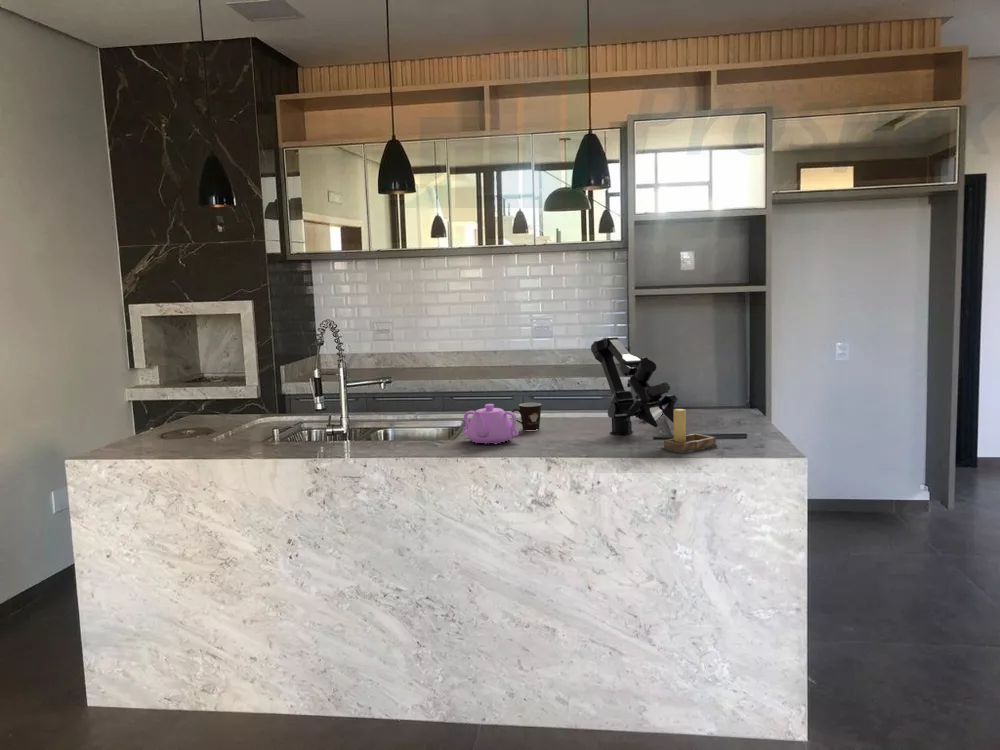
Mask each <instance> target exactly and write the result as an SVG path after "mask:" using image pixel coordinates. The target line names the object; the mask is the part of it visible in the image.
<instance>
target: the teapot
mask: <svg viewBox="0 0 1000 750" xmlns="http://www.w3.org/2000/svg"><path fill="white" fill-rule="evenodd" d="M469 414H471V415H472V416H471V418H470V420H469V417H468V416H469ZM463 415H464V416H463V420H464V424H465V426H464V427H463V428H462V433H463V434H464V435H466V436H467V438H468V439H469V440H470V441H471V442H472V443H474V442H475V443H474V444H477V443H485V444H484V445H490V444H489V443H499V444H502V443H501V442H503V443H506V442H505V441H507V442H509V441H510V439H511V438H512V437H517V436H518V435H519V434H520V433H519V432H520V431H519V430H518V428H515V427H516V424H517V421H516V420H517V415H516V414H515V413H514V412H513V413H512V411H508V410H507V411H505V410H504V409H503V408H499V407H495V404H494V403H486V404H484V407H483V408H479V409H476V410H468V411H466V412H465V413H464V414H463ZM509 416H511V418H512V420H511V419H510V417H509ZM508 440H509V441H508ZM487 443H488V444H487Z"/></svg>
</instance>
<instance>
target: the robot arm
mask: <svg viewBox="0 0 1000 750" xmlns="http://www.w3.org/2000/svg"><path fill="white" fill-rule="evenodd" d="M590 351H591V353H592V354H593V356H594V358H595V360H596V361H598V363H600V364H601V366H602V370H603V372H604V376H605V378H606V381H607V384H608V388H609V390H610V392H611V398H610V405H609V408H608V409H607V417H608V418H611V431H609V434H612V435H621V436H626V435H628V434H632V433H633V432H634V431H633V430H632V429H633V428H632V427H633V425H632V420H631V418H638V419H639V420H641V421H642V420H643V421H642V422H645V423H647V424H649V425H650V426H652V427H654V428H657V427H658V426H659V425H658V423H657V420H656V421H655V419H654V417H653V416H652V414H651V412H650V408H654V407H658V408H659V409H660V410H662V413H663V415H664V416H665V417H667V419H668V420H669V421H671V422H672V423H673V424H674V410H675V407H674V406H675V405H676V403H677V401H678V398H677V395H675V394H668V393H669V392H670V389H671V386H670V384H669V383H668V382H667V381H662V382H661V383H660V384H655V385H651V384H650V383H649V381H650V380H651V378H652V377H653V375H654V374H655V371H656V370H657V364H656V363H655V362H654V361H652V360H651V359H649V358H648V357H646V356H644V357H641V358H640V357H637V356H635V355H632V354H631V353H630V352H629V351H628V350H627V348H626V347H625V346H624V345H623V344H622V342H621V341H620V338H619V337H618V336H606V337H604V338H603V339H600V340H595V341H593V343H592V344H591V346H590ZM614 358H615V359H616V360H617V361H618V363H619V365H620V366H619V370H620V371H621V373H622V375H623V376H624V377H630V378H628V379H627V388H632V390H633V392H634V393H635V394H636V396H635V399H636V400H635V399H634V396H633V394H632V392H631V390H625V388H624V384H623V382H622V380H621V377H620V374H619V370H618V368H617V364H616V361H615V359H614ZM666 393H667V394H668V395H664V394H666ZM663 395H664V397H663ZM661 398H662V399H661ZM660 399H661V400H660Z"/></svg>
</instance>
